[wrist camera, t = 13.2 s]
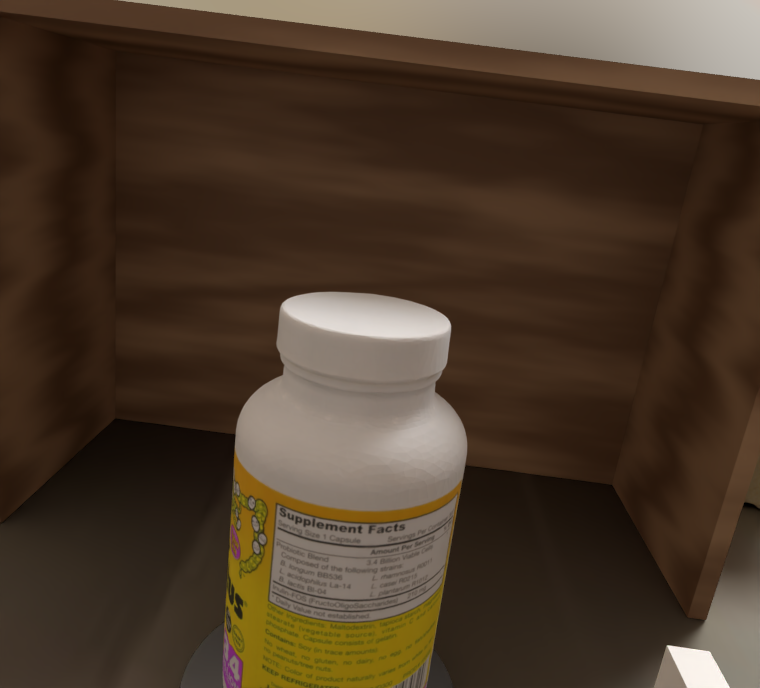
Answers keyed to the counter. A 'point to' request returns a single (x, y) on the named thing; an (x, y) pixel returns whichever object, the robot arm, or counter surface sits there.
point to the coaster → (207, 665)
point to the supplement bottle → (343, 500)
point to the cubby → (384, 244)
